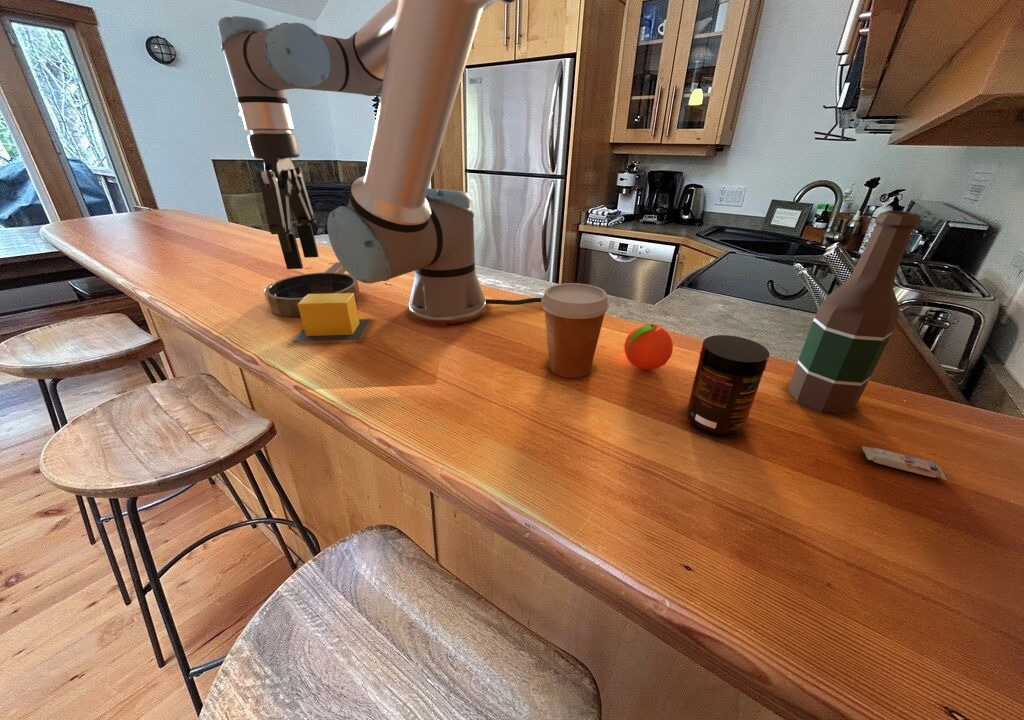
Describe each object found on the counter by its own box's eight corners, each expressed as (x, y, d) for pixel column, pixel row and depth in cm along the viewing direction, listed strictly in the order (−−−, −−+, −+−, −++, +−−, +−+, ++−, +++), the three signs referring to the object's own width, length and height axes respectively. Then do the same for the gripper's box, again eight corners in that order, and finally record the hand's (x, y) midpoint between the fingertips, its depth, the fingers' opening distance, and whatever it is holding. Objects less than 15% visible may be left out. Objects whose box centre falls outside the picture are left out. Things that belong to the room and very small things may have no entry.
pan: (368, 289, 95) (365, 271, 93) (348, 318, 80) (343, 298, 78) (290, 291, 94) (285, 273, 92) (254, 321, 79) (247, 300, 77)
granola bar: (863, 462, 44) (867, 455, 44) (859, 449, 46) (863, 442, 46) (945, 483, 42) (950, 475, 41) (937, 469, 44) (942, 461, 43)
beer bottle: (858, 423, 51) (959, 221, 39) (785, 404, 54) (859, 214, 43) (852, 393, 57) (940, 210, 45) (787, 378, 60) (852, 205, 49)
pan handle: (347, 269, 104) (346, 262, 103) (334, 282, 94) (332, 275, 93) (336, 269, 103) (335, 262, 103) (322, 283, 94) (320, 275, 93)
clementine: (641, 385, 58) (649, 340, 55) (606, 365, 64) (612, 323, 60) (678, 370, 62) (687, 327, 59) (643, 352, 67) (650, 312, 64)
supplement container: (750, 420, 51) (776, 346, 46) (735, 448, 47) (761, 368, 42) (695, 401, 55) (713, 330, 50) (676, 424, 51) (694, 349, 46)
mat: (370, 321, 79) (370, 319, 78) (359, 342, 71) (358, 339, 71) (311, 323, 78) (311, 320, 78) (293, 344, 70) (292, 341, 70)
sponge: (359, 323, 77) (353, 292, 74) (352, 334, 72) (346, 302, 69) (315, 324, 76) (307, 293, 73) (305, 336, 72) (297, 303, 69)
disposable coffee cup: (582, 391, 57) (590, 310, 51) (526, 370, 62) (528, 294, 56) (612, 364, 64) (622, 290, 58) (559, 347, 69) (563, 278, 63)
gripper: (274, 134, 81) (303, 250, 91) (214, 132, 62) (260, 278, 73) (314, 133, 81) (338, 249, 92) (266, 131, 63) (303, 276, 73)
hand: (303, 262), depth 82 cm, fingers open, 8 cm apart
